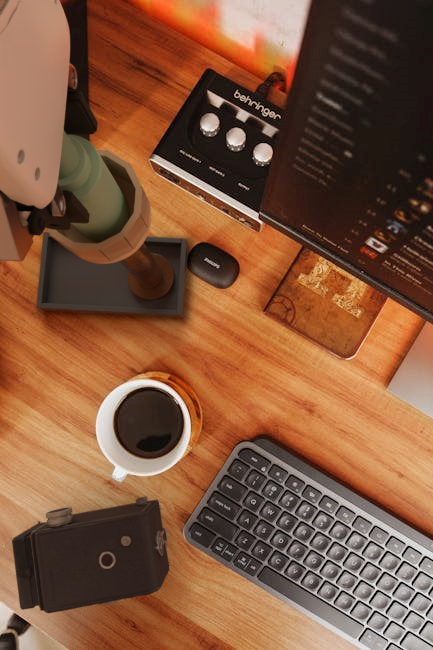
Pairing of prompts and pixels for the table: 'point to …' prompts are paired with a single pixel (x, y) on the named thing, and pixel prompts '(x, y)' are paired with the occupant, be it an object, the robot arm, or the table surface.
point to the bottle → (92, 188)
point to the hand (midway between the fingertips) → (68, 171)
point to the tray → (107, 282)
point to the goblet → (125, 238)
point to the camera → (91, 557)
